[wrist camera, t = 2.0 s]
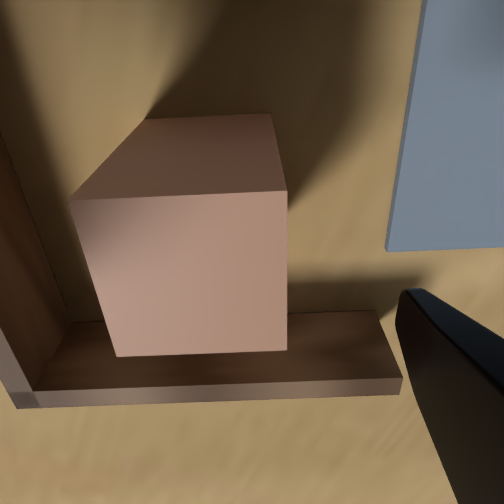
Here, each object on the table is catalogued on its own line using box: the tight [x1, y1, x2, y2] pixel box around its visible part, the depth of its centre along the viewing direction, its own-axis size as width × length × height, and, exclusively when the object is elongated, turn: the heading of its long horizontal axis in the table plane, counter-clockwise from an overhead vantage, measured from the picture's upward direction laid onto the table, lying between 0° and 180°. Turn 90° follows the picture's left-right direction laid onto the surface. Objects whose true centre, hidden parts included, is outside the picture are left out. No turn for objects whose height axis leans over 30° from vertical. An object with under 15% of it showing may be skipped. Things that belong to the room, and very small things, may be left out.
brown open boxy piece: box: [0, 135, 403, 409], centre depth 13 cm, size 16×16×4 cm
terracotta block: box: [67, 113, 287, 357], centre depth 12 cm, size 4×4×7 cm
